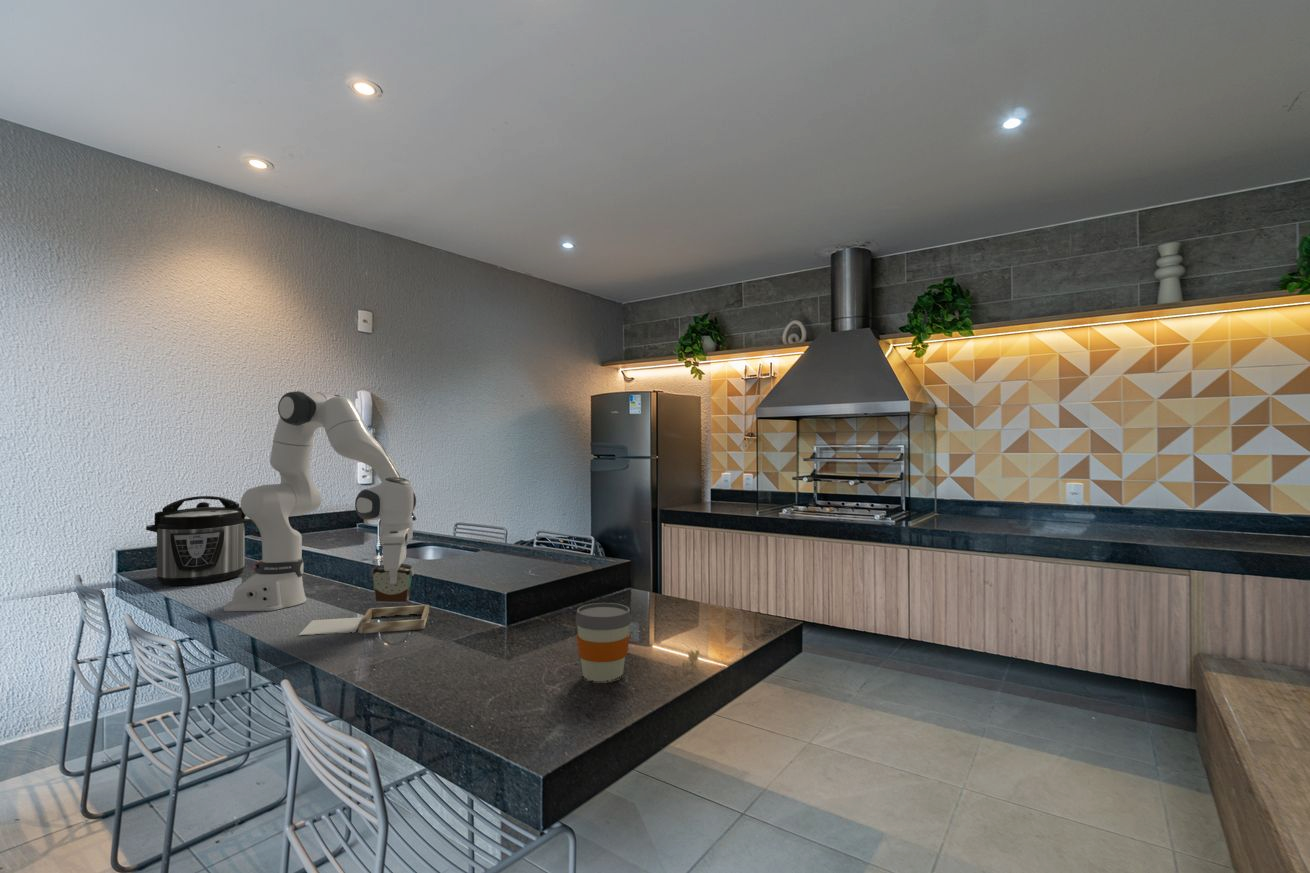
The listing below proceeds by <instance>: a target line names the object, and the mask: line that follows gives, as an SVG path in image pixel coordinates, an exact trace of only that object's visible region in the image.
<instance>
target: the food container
mask: <svg viewBox="0 0 1310 873" xmlns="http://www.w3.org/2000/svg"><path fill="white" fill-rule="evenodd" d="M370 575H372V581H373V591H374V592H373V593H374V603H394V604H408V603H409V602H410V601H409V600H410V593H411V591H410V590H411V586H412V584H411V583H412V576H414V575H415V570H414V567H413V566H412V565H411V564H408V563H407V564H406V563H402V564H401V566H400V567H399V569H398V571H397V582H396V584H390V576H389V571H385V570H384V565H383V564H380V565H376V566H373V567H372V569H371V571H370Z"/></svg>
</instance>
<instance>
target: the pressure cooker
mask: <svg viewBox="0 0 1310 873" xmlns="http://www.w3.org/2000/svg"><path fill="white" fill-rule="evenodd" d="M195 500H196V501H197V500H214V501H216V500H217V501H219V502H220V503H221V505H222V507H220V506H210V502H204V501H203V502H199V503H197V504H196V506H195V507H191V508H190V507H189V508H183V509H179V508H180V507H181V506H183V504H184V502H189V501H195ZM246 517H247V516H246V515H245V514H244V513H243V511H242V509H241V506H240V502H239V503H238V502H236V501H235V500H232V499H229V498H225V497H222V496H221V497H220V496H214V495H201V496H192V497H190V496H189V497H185V498H182V499H179V500H176V501H173V502H171V503H169V504H166V505H165V506H163V508H162V510H161V511H157V512H155V513H154V524H150V525H146V526H145V531H149V532H153V533H156V577H157V579H158V581H159V582H160V583H161V584H164V585H168V586H170V585H171V586H173V585H174V586H189V585H191V586H192V585H199V584H208V583H209V584H210V583H214V582H220V581H225V580H230V579H233V578H236V577H239V576H240V575H242V573H243V572H244V570H245V562H246V561H245V558H246V557H245V556H246V552H245V551H246V550H245V548H246V545H245V544H246V542H245V541H246V539H245V538H246V536H245V535H246V532H245V531H246V524H255V523H254V521H253V520H251V519H250V518H246Z"/></svg>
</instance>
